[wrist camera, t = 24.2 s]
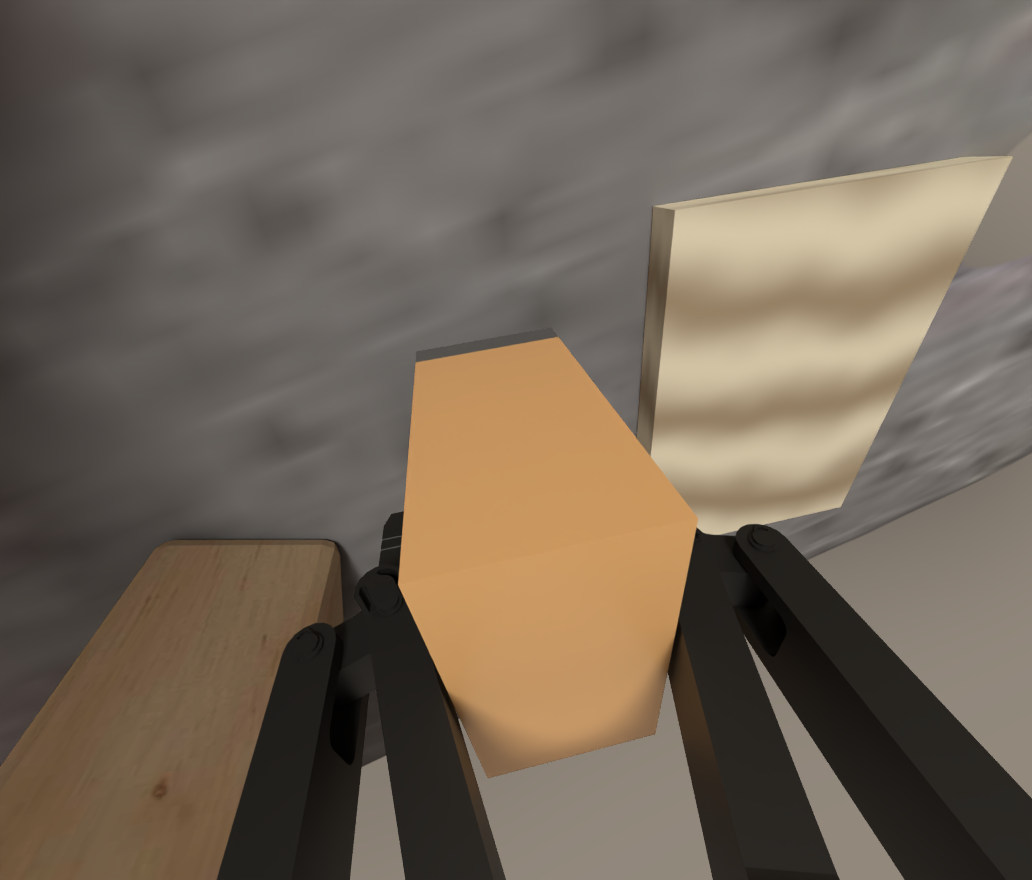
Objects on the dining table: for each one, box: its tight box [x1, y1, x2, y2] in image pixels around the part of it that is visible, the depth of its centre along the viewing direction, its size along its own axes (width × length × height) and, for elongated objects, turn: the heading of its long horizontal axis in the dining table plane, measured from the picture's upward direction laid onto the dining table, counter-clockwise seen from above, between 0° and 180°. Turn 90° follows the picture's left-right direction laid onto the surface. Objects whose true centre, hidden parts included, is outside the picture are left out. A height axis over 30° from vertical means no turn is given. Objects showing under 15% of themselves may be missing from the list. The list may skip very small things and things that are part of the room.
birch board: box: [637, 156, 1013, 535], centre depth 25 cm, size 22×16×2 cm
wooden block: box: [0, 540, 344, 880], centre depth 19 cm, size 10×10×20 cm
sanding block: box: [398, 328, 698, 778], centre depth 13 cm, size 9×5×10 cm, turn 7°
